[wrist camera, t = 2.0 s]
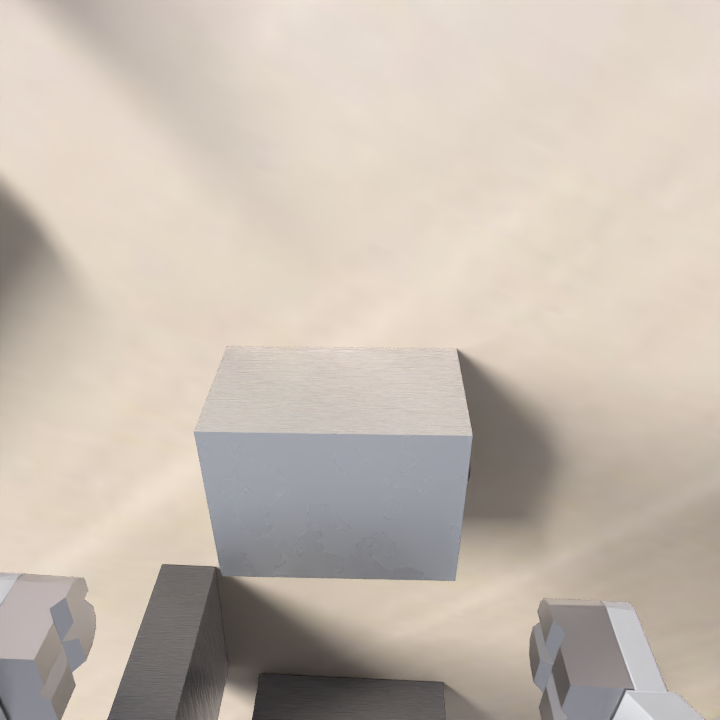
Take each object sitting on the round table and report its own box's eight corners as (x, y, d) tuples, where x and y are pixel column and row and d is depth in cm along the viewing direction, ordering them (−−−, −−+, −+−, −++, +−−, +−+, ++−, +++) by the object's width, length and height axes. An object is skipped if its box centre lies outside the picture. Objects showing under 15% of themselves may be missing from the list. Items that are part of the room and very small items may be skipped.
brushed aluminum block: (227, 343, 28) (193, 431, 23) (467, 346, 28) (487, 436, 23) (246, 477, 32) (221, 575, 27) (453, 481, 32) (467, 581, 27)
